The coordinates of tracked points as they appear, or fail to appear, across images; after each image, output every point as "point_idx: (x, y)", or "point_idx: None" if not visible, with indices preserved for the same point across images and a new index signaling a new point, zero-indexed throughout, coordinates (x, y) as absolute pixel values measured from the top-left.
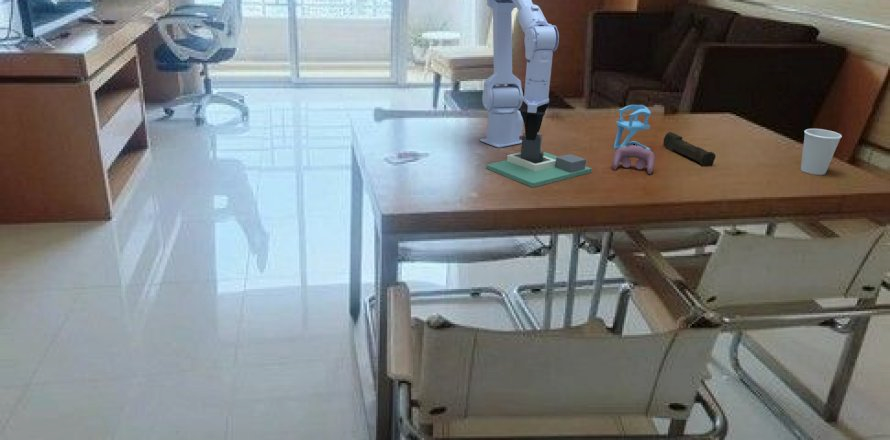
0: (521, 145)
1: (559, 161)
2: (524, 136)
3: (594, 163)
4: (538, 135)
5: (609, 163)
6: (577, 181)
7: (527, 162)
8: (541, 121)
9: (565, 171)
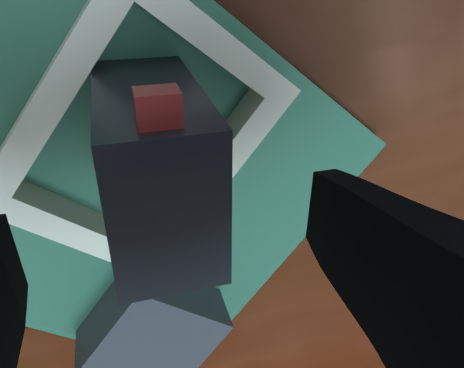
0: (91, 107)
1: None
2: (95, 169)
3: (307, 330)
4: (197, 266)
5: (320, 363)
6: (26, 352)
7: (7, 145)
8: (361, 322)
9: (85, 308)
